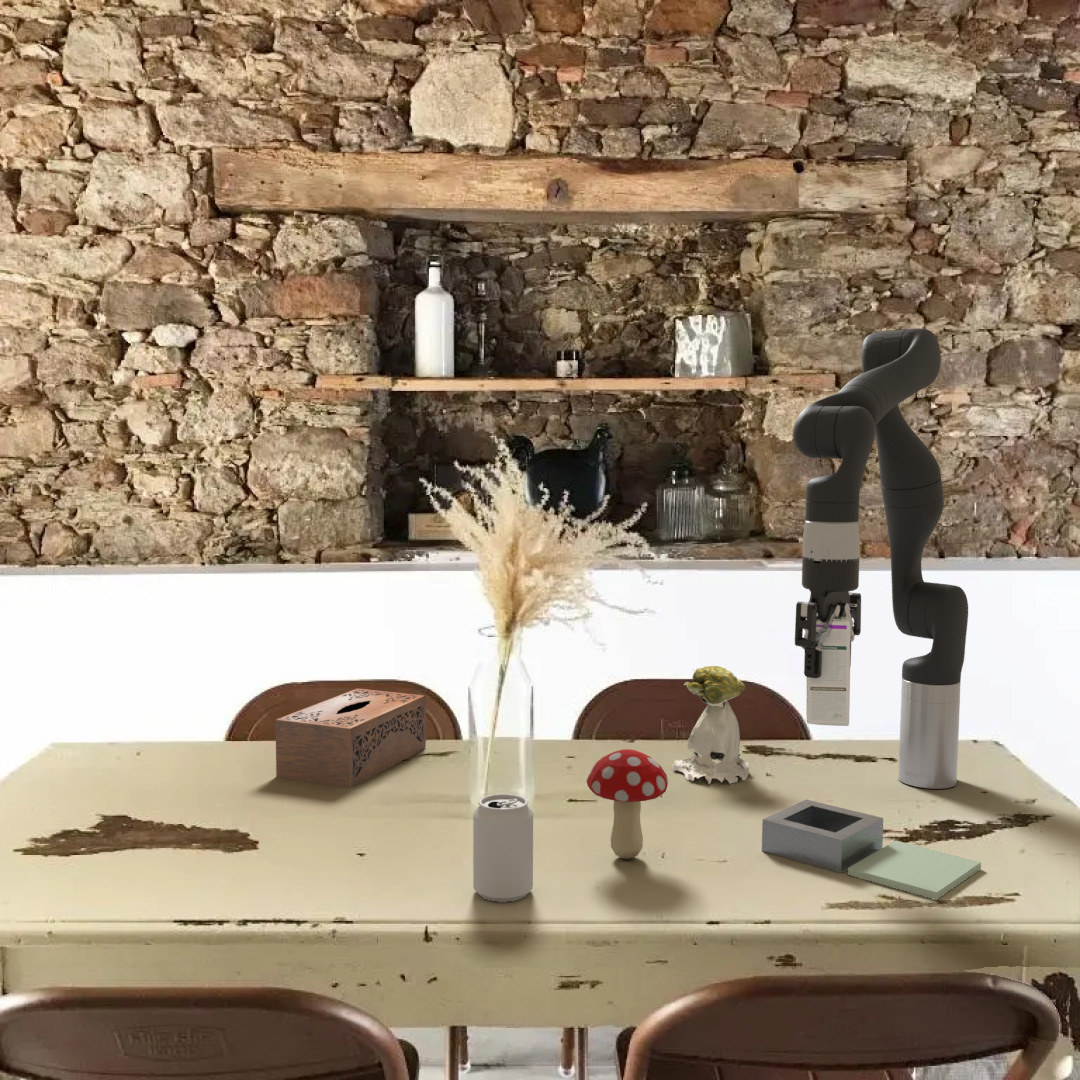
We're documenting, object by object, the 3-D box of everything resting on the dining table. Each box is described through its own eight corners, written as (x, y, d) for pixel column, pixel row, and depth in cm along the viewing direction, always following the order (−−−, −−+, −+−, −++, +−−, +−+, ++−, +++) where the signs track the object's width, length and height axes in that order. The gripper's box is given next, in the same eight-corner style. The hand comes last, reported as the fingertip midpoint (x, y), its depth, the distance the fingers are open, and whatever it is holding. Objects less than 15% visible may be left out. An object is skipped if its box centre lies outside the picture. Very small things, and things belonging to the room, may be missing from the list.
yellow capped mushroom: (727, 760, 206) (729, 657, 204) (762, 781, 194) (765, 672, 192) (664, 765, 202) (666, 661, 201) (696, 787, 190) (698, 676, 189)
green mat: (895, 847, 163) (895, 840, 163) (980, 869, 155) (981, 862, 155) (847, 875, 153) (848, 867, 153) (936, 900, 145) (936, 892, 145)
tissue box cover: (357, 740, 219) (356, 688, 218) (425, 749, 213) (425, 695, 212) (276, 778, 195) (275, 719, 194) (350, 789, 189) (350, 728, 188)
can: (472, 882, 150) (472, 791, 149) (530, 880, 150) (531, 790, 149) (474, 906, 142) (474, 810, 141) (535, 904, 143) (535, 808, 142)
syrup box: (850, 726, 157) (853, 620, 156) (805, 724, 158) (807, 618, 157) (847, 716, 162) (850, 613, 161) (804, 714, 164) (806, 612, 162)
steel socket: (805, 829, 170) (806, 799, 170) (882, 849, 162) (883, 818, 162) (761, 851, 161) (762, 819, 161) (840, 873, 153) (841, 840, 153)
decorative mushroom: (608, 878, 151) (609, 765, 150) (572, 850, 161) (573, 744, 160) (682, 866, 156) (684, 756, 154) (642, 839, 166) (644, 736, 164)
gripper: (831, 548, 166) (828, 661, 167) (779, 556, 155) (776, 676, 157) (880, 552, 161) (877, 668, 162) (830, 560, 150) (826, 685, 152)
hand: (827, 672), depth 160 cm, fingers closed on syrup box, 8 cm apart
